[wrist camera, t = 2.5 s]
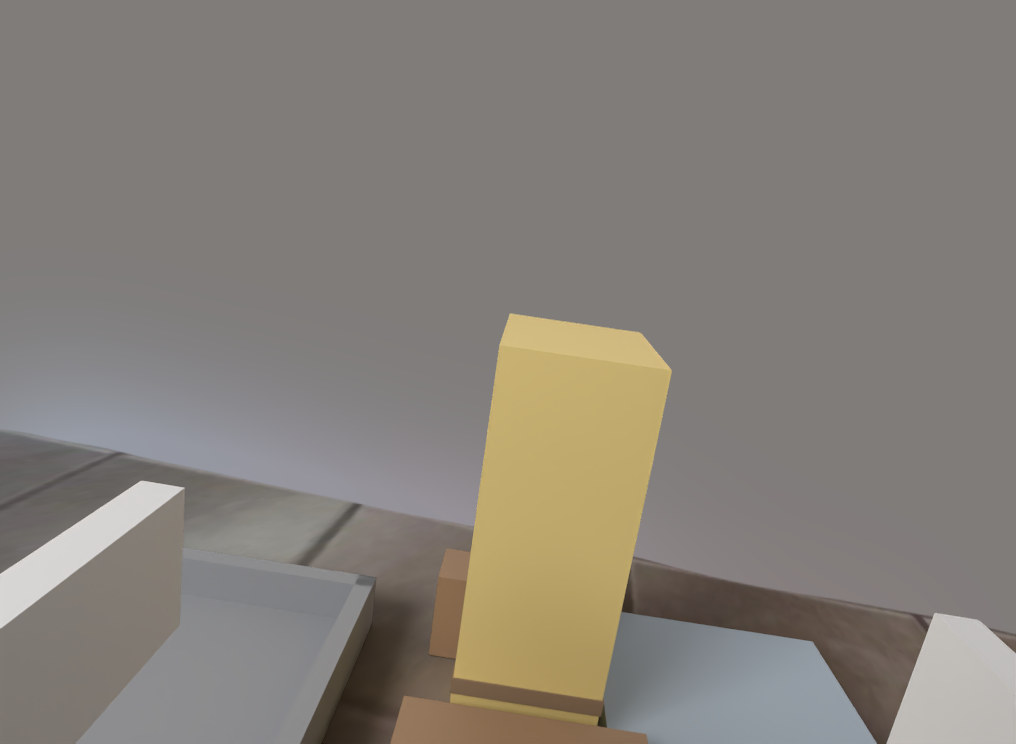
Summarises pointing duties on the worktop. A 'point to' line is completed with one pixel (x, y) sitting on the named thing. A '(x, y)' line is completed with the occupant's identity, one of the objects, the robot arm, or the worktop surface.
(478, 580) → the stub
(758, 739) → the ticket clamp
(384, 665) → the worktop surface
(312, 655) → the tray
